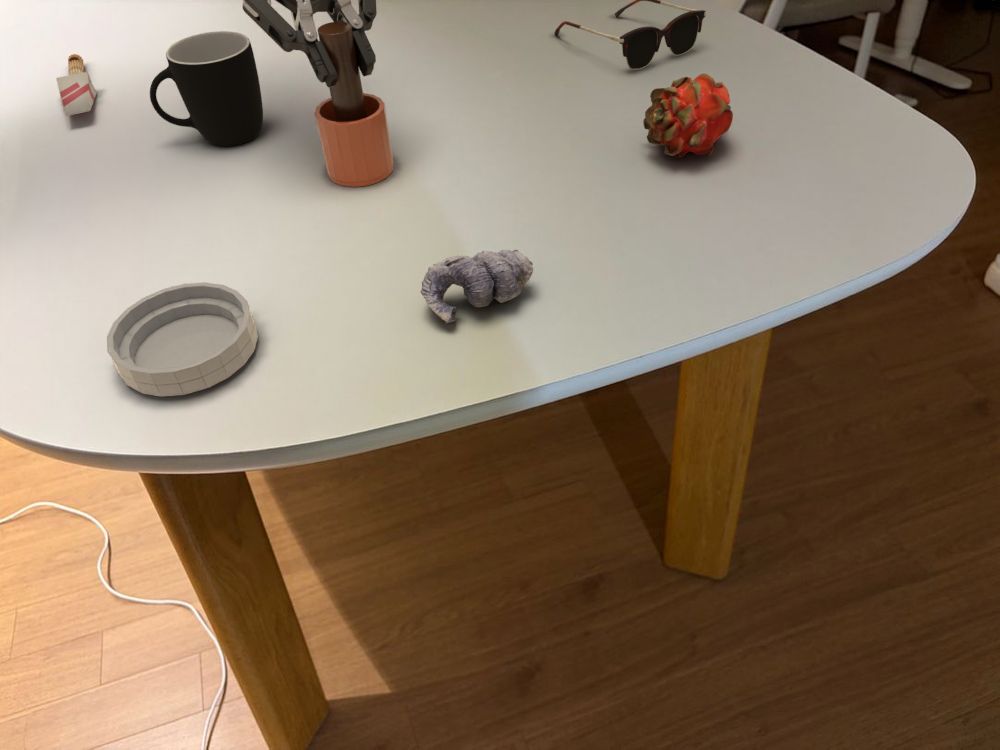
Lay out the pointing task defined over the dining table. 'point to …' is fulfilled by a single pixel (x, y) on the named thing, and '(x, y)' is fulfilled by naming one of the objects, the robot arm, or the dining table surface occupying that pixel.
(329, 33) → the muddler
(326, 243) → the dining table surface
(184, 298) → the dish
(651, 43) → the sunglasses
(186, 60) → the mug
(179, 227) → the dining table surface
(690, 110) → the dragon fruit
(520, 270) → the seashell
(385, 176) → the cup
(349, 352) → the dining table surface
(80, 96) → the churro
